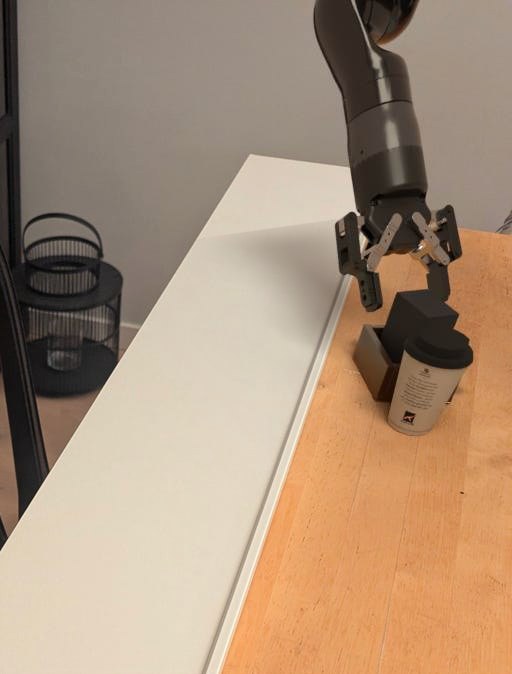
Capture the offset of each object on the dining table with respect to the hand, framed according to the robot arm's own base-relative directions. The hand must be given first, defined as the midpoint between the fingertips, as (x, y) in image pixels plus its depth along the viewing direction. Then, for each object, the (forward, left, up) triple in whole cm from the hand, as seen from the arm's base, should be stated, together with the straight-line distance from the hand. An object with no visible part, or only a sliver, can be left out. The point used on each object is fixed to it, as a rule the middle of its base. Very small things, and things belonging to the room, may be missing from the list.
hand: (407, 306), depth 102 cm
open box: (-1, +3, -8) cm, 8 cm away
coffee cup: (+1, +12, -8) cm, 14 cm away
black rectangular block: (-1, +3, -7) cm, 7 cm away
